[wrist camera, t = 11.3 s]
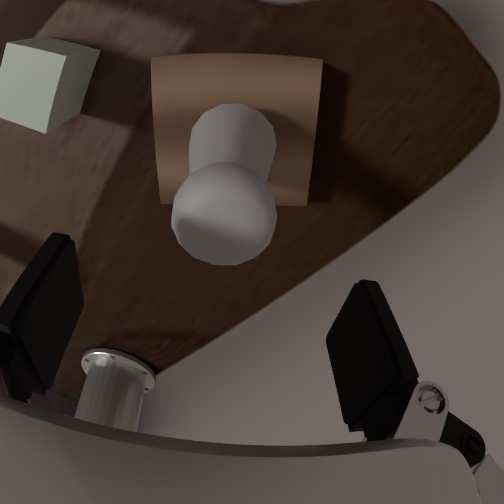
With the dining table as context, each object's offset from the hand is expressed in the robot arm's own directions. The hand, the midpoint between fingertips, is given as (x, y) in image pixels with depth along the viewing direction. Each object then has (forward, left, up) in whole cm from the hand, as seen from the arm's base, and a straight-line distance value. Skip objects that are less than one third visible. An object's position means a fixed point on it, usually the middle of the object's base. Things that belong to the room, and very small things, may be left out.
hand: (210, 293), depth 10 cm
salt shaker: (0, 0, -16) cm, 16 cm away
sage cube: (+4, +16, -19) cm, 25 cm away
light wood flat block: (+1, 0, -19) cm, 19 cm away
